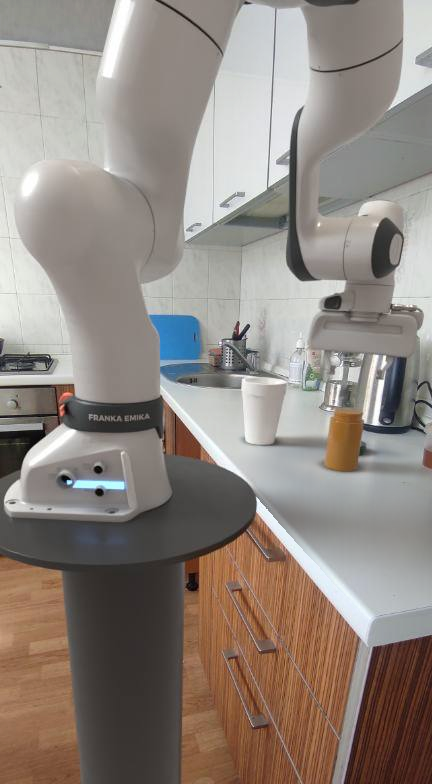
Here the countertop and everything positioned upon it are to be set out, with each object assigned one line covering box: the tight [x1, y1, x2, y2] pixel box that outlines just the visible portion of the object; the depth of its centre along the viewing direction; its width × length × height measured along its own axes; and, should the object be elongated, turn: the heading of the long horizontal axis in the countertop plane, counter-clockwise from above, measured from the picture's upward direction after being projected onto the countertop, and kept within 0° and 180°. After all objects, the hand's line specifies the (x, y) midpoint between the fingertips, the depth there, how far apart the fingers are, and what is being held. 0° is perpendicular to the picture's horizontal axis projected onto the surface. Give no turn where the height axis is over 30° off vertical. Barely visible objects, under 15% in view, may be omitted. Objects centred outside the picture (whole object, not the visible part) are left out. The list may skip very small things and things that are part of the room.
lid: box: [359, 440, 367, 456], centre depth 97 cm, size 6×6×2 cm
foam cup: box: [240, 376, 288, 446], centre depth 99 cm, size 10×9×13 cm
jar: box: [324, 407, 365, 472], centre depth 86 cm, size 6×6×11 cm
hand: (354, 376), depth 92 cm, fingers open, 8 cm apart
